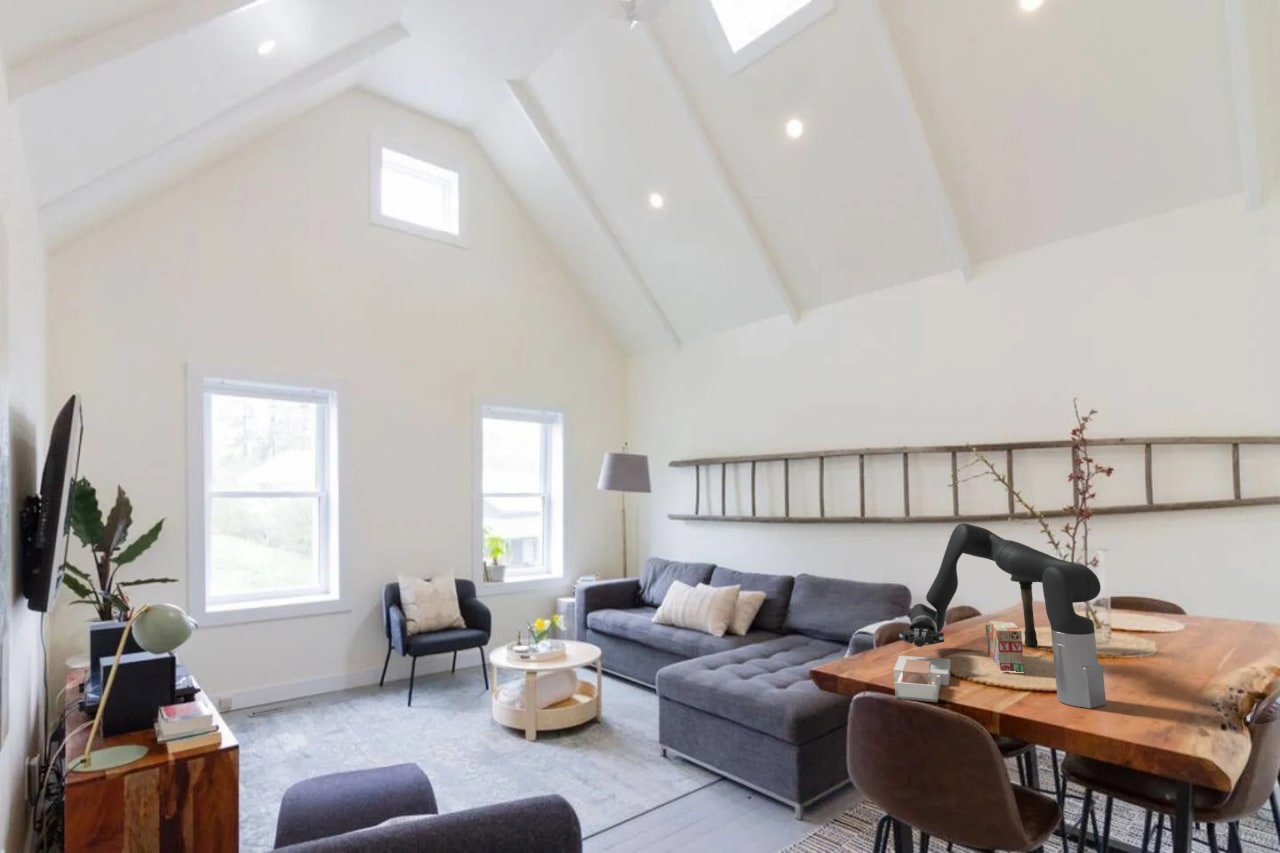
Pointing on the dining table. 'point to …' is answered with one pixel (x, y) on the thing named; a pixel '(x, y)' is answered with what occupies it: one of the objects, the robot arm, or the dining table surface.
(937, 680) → the tray
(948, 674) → the white windowed box
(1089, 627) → the robot arm
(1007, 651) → the stack of blocks
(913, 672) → the tan piece
